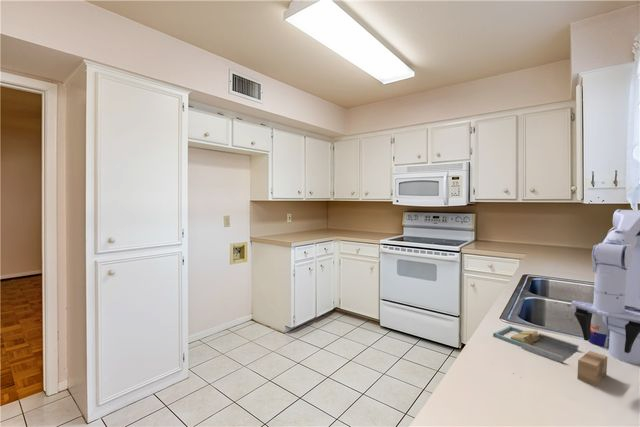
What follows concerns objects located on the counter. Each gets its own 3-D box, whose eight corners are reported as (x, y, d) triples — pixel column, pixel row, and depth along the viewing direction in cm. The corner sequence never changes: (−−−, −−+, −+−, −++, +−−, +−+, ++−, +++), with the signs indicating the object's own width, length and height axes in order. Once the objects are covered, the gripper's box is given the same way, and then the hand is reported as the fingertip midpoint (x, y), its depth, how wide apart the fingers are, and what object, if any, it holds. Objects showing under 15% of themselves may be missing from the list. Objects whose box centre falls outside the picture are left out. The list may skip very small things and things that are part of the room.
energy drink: (583, 343, 100) (585, 306, 100) (602, 344, 99) (604, 307, 99) (596, 351, 95) (598, 313, 94) (615, 352, 94) (617, 314, 94)
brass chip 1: (518, 342, 100) (516, 334, 100) (532, 343, 96) (529, 334, 97) (512, 345, 97) (510, 337, 98) (526, 346, 94) (523, 337, 95)
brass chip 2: (526, 338, 102) (524, 330, 103) (539, 338, 99) (537, 330, 100) (520, 341, 100) (518, 333, 101) (534, 342, 97) (531, 333, 97)
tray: (509, 332, 107) (509, 325, 107) (537, 342, 100) (537, 334, 100) (493, 340, 101) (493, 333, 101) (521, 351, 94) (521, 343, 94)
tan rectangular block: (588, 374, 82) (589, 350, 82) (606, 381, 79) (607, 356, 79) (577, 384, 78) (578, 359, 77) (595, 392, 75) (596, 366, 74)
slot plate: (539, 342, 101) (540, 333, 101) (578, 355, 92) (578, 345, 92) (521, 352, 93) (521, 343, 93) (560, 368, 85) (561, 357, 85)
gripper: (567, 287, 81) (565, 338, 81) (647, 303, 68) (643, 362, 69) (577, 283, 84) (575, 331, 85) (654, 297, 72) (651, 354, 73)
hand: (606, 345), depth 77 cm, fingers open, 7 cm apart
